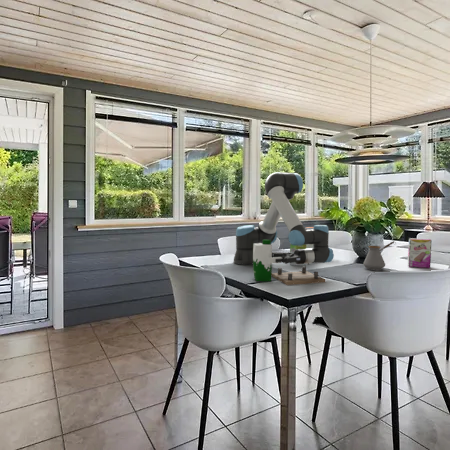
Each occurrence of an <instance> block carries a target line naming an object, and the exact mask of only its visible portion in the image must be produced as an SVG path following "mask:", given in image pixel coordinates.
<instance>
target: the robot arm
mask: <svg viewBox="0 0 450 450" xmlns="http://www.w3.org/2000/svg"><path fill="white" fill-rule="evenodd" d="M303 188H304V181H303V177H302V176H301V175H300V174H299V173H297V172H280V171H279V172H273V173H270V174H269V175H268V176H267V177H266V179H265V182H264V190H265V193H266V195H267V197H268V199H271V201H272V202H271V204H270V206H269V209H267V212H266V215H265V217H264V219H263V220H262V221H260V222H259V223H258V225H257V226H255V225H253V224H249V225H242V226H238V227H237V228H236V230H235V249H236V250H235V254H234V256H233V264H237V265H253V246H254V244H258V243H263V240H265V239H268V240H271V245H272V244H274V243H275V242H276V240H277V238H278V236H277V235H278V231H277V225H278V223H279V221H280V219H282V221H283V223H284V224H285V226H286V228H287V230H288V232H289V233H288V237H287V238H288V242H289V244H290V243H291V244H292V245H299V246H301V245H308V244H313V249H311V248H310V249H296V250H295V251H294V253H290V251H289V252H288V251H287V252H280V251H279V252H278V251H277V252H275V251H272V258H268V263H269V264H271V263H272V264H282V263H283V264H286V265H287V264H290V263H293V262H295V263H296V264H304V263H305V264H306V265H310V264H320V263H322V264H325V263H331V262H332V261H333V260H334V258H335V255H334V251H333V249H332V248H331V247H329V235H330V234H329V232H330V231H329V226H328V225H327V224H315V225H313V226H312V227H313V229H310V230H306V229H305V228H306V227H305V226H304V225H303V223H302V221H301V219H300V218H299V216H298V214H297V213H296V211H295V209H294V208H293V206H292V204H291V203H290V200H292V199H294V197H295V195H296V194H299V193H300V194H301V192H302V190H303Z"/></svg>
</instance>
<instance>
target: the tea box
mask: <svg viewBox="0 0 450 450" xmlns="http://www.w3.org/2000/svg"><path fill="white" fill-rule="evenodd" d="M289 244H290V245H289V253H294V251H295V250H296V249H307V245H301V246H299V245H292V244H291V243H290V242H289ZM289 265H291V266H306V265H307V264H305V263H304V264H296V263H295V262H293V263H289Z"/></svg>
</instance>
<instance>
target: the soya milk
mask: <svg viewBox="0 0 450 450" xmlns="http://www.w3.org/2000/svg"><path fill="white" fill-rule="evenodd" d="M272 252H273V245H272V244H271V240H268V239H265V240H263V243H258V244H254V246H253V264H252V268H253V278H255V279H254V280H255V281H256V282H257V281H262V282H272V273H273V270H272V269H273V263H271V264H269V263H268V258H272Z"/></svg>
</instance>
